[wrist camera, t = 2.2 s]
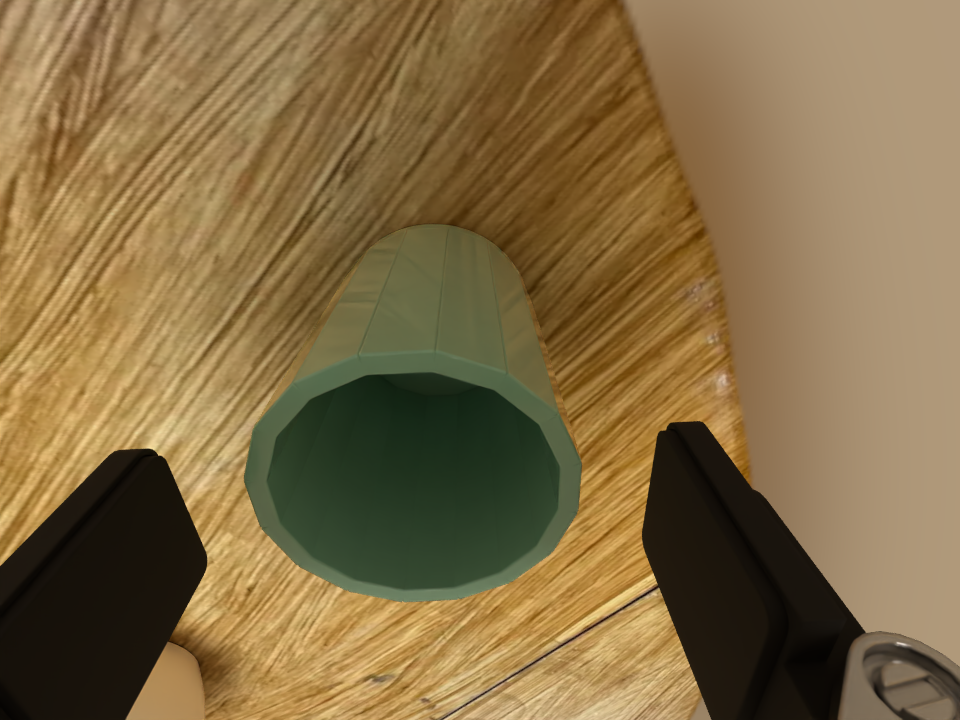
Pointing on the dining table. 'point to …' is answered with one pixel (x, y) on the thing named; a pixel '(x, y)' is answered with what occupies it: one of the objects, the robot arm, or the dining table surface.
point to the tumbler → (419, 428)
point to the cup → (172, 689)
